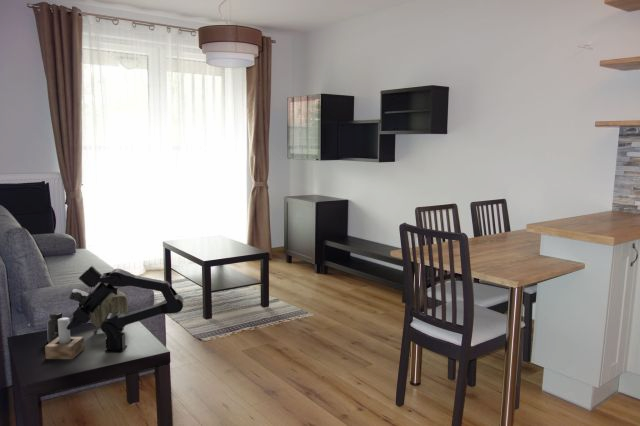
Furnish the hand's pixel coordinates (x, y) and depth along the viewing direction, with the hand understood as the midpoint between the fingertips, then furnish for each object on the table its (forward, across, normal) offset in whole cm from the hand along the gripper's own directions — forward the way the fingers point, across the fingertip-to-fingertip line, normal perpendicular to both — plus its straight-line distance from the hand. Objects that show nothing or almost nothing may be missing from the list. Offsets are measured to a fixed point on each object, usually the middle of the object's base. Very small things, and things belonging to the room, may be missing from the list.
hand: (69, 324), depth 200 cm
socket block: (+10, 0, +7) cm, 12 cm away
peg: (+9, 0, +6) cm, 11 cm away
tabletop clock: (0, -20, +17) cm, 26 cm away
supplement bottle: (+14, -15, +3) cm, 21 cm away
